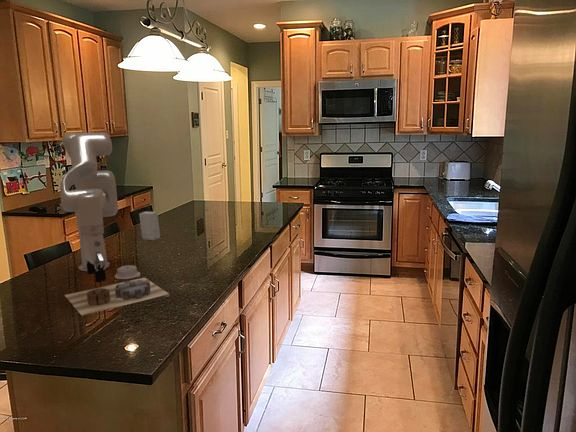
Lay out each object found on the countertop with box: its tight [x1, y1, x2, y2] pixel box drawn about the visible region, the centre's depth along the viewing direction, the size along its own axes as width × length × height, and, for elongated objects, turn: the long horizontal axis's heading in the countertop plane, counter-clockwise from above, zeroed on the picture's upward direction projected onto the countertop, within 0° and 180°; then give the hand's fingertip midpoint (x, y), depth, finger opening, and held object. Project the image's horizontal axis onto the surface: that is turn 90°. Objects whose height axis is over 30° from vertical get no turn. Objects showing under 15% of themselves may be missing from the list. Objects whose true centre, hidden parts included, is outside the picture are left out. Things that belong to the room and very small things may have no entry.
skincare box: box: [138, 210, 161, 241], centre depth 252 cm, size 8×6×15 cm
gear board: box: [64, 277, 171, 319], centre depth 168 cm, size 24×30×6 cm
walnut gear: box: [87, 288, 110, 306], centre depth 161 cm, size 7×7×4 cm
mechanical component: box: [114, 264, 141, 280], centre depth 190 cm, size 10×4×10 cm
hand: (96, 277), depth 161 cm, fingers open, 9 cm apart
